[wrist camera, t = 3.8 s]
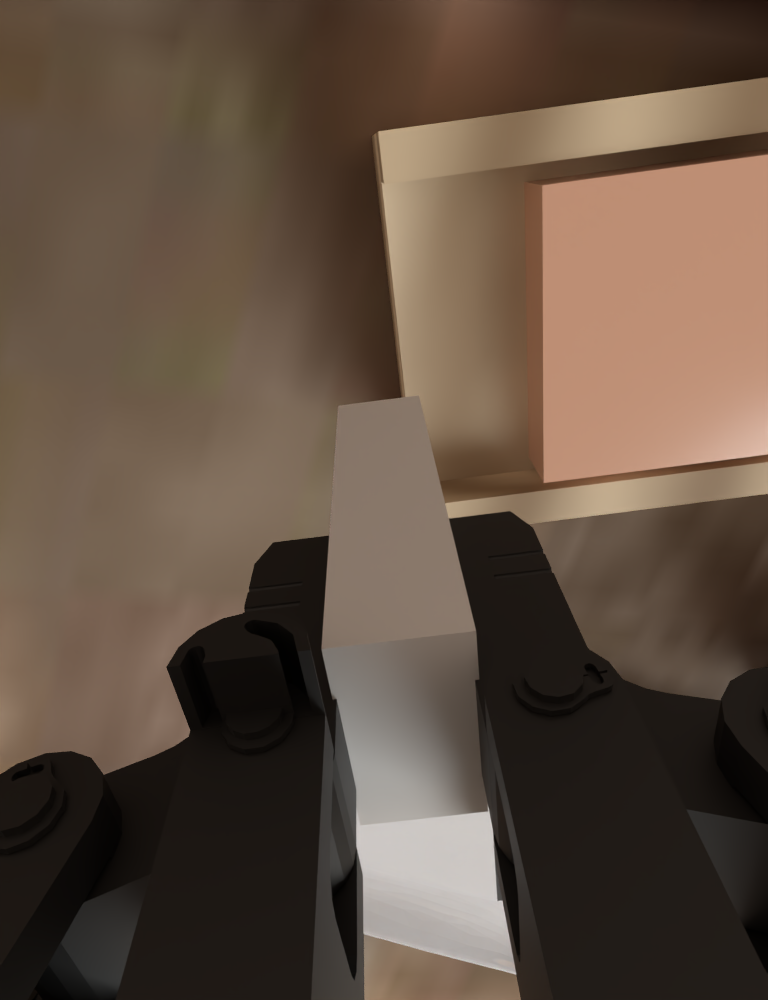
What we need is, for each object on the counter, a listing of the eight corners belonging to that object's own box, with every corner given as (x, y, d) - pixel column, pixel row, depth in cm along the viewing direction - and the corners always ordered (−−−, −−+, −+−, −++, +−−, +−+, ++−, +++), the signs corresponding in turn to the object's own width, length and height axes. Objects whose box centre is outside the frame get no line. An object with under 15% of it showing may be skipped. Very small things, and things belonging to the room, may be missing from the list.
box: (407, 456, 28) (422, 537, 22) (371, 136, 22) (378, 131, 16) (832, 401, 27) (961, 469, 22) (906, 62, 22) (1109, 29, 16)
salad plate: (412, 605, 32) (418, 652, 29) (733, 736, 37) (766, 788, 34) (246, 850, 41) (237, 906, 38) (527, 928, 46) (539, 983, 43)
